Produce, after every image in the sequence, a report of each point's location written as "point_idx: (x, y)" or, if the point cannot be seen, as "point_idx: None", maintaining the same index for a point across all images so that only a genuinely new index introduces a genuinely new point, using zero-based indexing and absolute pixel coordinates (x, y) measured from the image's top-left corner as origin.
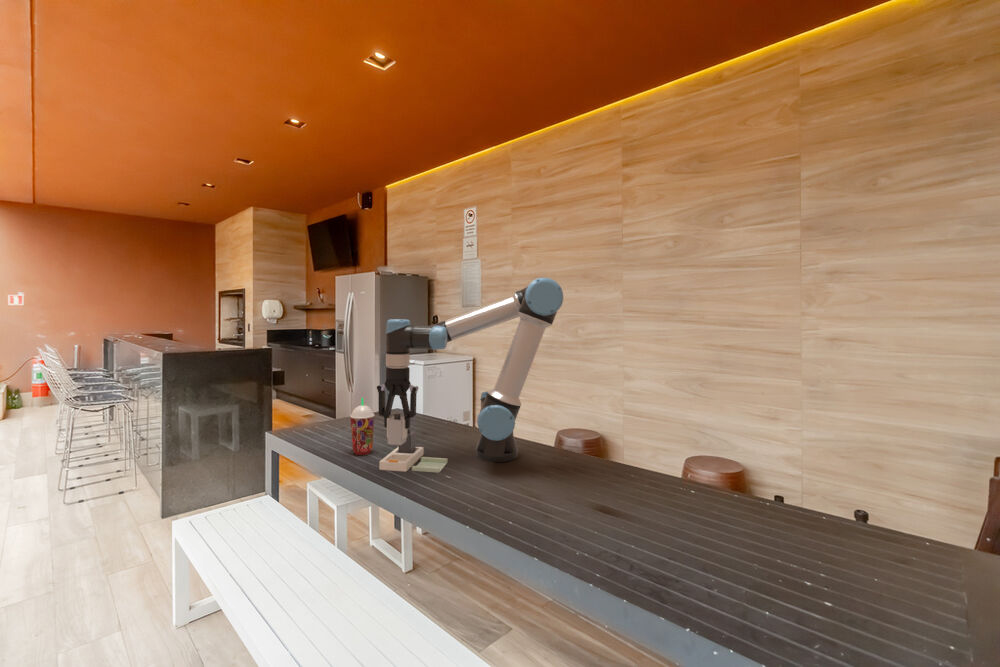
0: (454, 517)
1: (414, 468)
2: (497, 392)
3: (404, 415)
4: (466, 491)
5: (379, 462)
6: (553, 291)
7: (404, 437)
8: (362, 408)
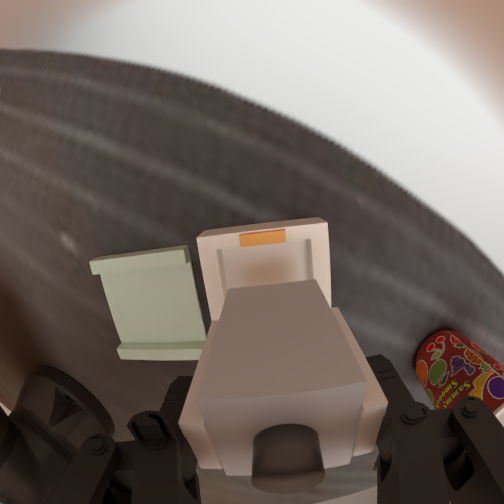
0: (16, 51)
1: (174, 248)
2: None
3: (173, 459)
4: (10, 165)
5: (325, 221)
6: None
7: (210, 329)
8: None
